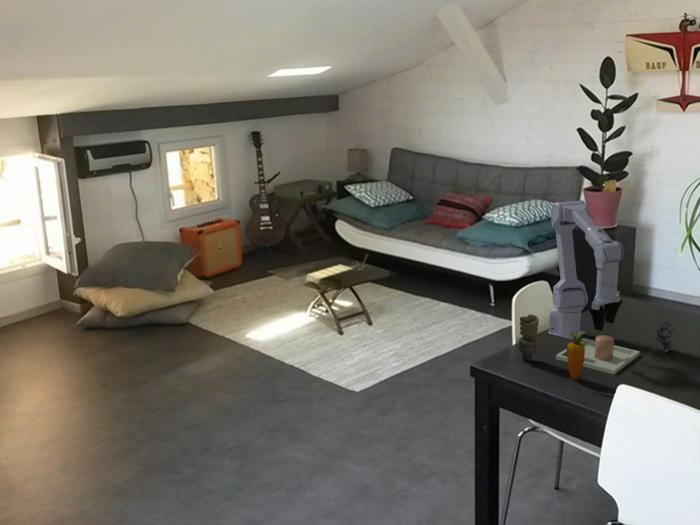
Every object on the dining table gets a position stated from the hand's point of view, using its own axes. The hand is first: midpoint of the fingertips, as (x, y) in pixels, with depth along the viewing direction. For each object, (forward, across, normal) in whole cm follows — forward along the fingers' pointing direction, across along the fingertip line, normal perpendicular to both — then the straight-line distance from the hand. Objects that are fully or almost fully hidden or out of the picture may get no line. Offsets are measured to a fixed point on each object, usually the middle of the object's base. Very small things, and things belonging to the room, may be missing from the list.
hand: (604, 326), depth 216 cm
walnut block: (+10, -6, +6) cm, 13 cm away
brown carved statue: (+11, -16, +16) cm, 25 cm away
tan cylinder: (+10, 0, 0) cm, 10 cm away
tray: (+10, -1, +1) cm, 11 cm away
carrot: (+11, -20, -1) cm, 22 cm away
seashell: (+11, +17, -12) cm, 23 cm away
